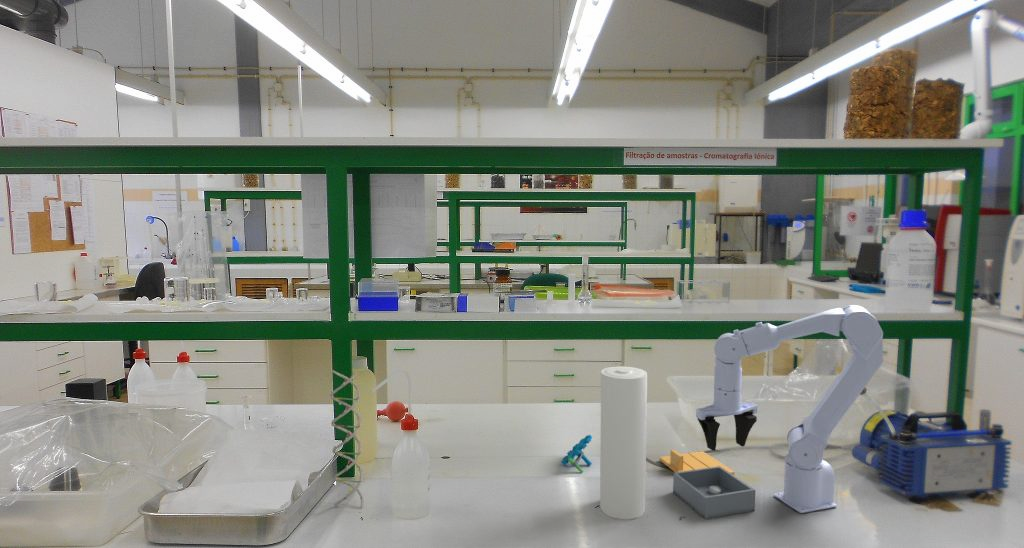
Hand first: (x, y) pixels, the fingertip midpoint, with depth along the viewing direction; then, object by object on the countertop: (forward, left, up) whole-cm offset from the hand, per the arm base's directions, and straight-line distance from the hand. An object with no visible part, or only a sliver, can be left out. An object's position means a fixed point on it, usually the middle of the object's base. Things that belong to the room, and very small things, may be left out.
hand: (725, 446), depth 128 cm
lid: (0, -11, -10) cm, 15 cm away
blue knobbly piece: (+27, -21, -10) cm, 36 cm away
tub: (+6, +4, -10) cm, 12 cm away
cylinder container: (+26, +1, -10) cm, 28 cm away
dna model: (+82, -16, -10) cm, 84 cm away
